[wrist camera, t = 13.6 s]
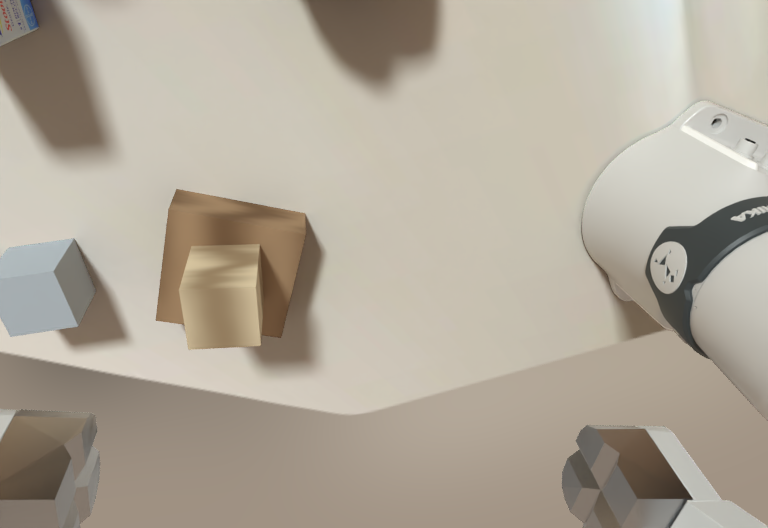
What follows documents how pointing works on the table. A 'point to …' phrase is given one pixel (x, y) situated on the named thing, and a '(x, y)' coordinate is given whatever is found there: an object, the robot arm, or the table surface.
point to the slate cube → (43, 287)
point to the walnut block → (232, 227)
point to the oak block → (222, 296)
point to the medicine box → (16, 20)
